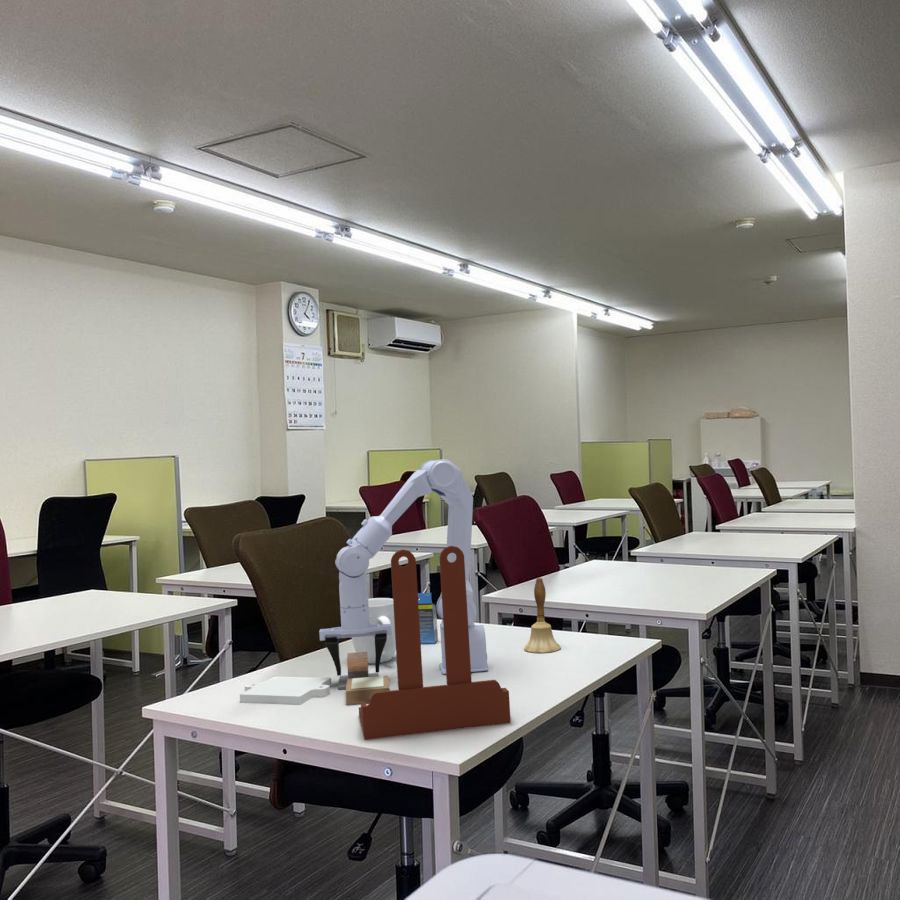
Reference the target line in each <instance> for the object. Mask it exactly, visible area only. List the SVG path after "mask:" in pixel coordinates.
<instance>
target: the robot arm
mask: <svg viewBox="0 0 900 900" xmlns="http://www.w3.org/2000/svg"><path fill="white" fill-rule="evenodd" d="M432 493H435V494H437V495H438V496H439V497H440V498H441V499H442V500H443V501H444V502H445V503H446V504H447V506H448V510H447V511H448V512H447V531H446V533H447V535H446V547H449V546H455V547H458V548H459V549H460V550H461V551H462V552H463V554H464V562H465V579H466V596H467V613H468V630H469V647H470V664H471V673H473V672H474V673H475V672H485V671H489V668H488V652H487V639H486V631H485V627H484V625H483V624H475V620H476V618H477V614H478V613H477V611H478V610H477V607H476V604H475V601H474V590H473V587H472V585H471V582H470V576H471V574H470V573H471V553H472V552H471V551H472V530H473V509H474V497H473V496H474V495H473V494H472V492H471V489H470V487H469V486H468V484H467V482H466V479H465V478H464V476H463V471H462V469H460V467H458V466H457V465H456V464H454V463H453V462H452V461H450V460H448V459H444V458H443V459H437V460H436V459H430V460H427V461H424V462H423V463H422V464H421V466H420V468H419V469H417V470H416V471H414V472H413V473H412V474H411V475H410V477H409V478H408V479H407V480H406V482H405V483H404V484H403V485H402V487H401V488H400V489H399V491H398V492H397V493H396V494H395V496H394V497H393V498H392V499H391V501H389V503H388V504H387V506H386V507H385V508H384V510H383V511H382V512H381V514H379V515H377V516H373V515H372V516H370V517H369V518H368V519H363V521H362V522H361V526H362V527H361V528H360V529H359V530H358V531H357V532H356V534H355V535H354V536H353V537H352V538H349V539H348V540H347V541H346V544H347V546H344V547H342V548H341V549H340V550H339V551H338V553H337V554H336V558H335V560H334V563H335V566H336V568H337V570H338V571H339V573H338V580H339V585H338V589H339V590H338V591H339V610H340V611H339V612H340V624H341V626H337V627H330V628H320V629H319V633H318V634H319V641H320V642H321V641H322V642H323V641H325V643H324V644H325V647H326V648H327V651H328V652H329V654H330V656H331V658H332V660H333V663H334V666H335V670H336V675H337V677H340V676H342V666H341V665H342V664H341V659H340V658H341V657H340V644H339V643H340V641H339V639H347V638H349V639H350V638H351V639H352V637H364V636H375V654H376V660H375V663H374V664H375V665H374V667H375V670H374V671H375V673H380V664H381V663H380V659H381V655H382V652H383V649H384V646H385V643H386V641H387V635H392V625H391V624H370V622H369V605H368V599H369V593H368V592H369V591H368V582H367V571H368V569H369V565H370V559H373V558H374V557H375V556H376V554H377V553H378V552H379V551H380V550H381V549H382V547H383V546H384V545H385V543H387V542H388V540H390V538H391V537H392V535H393V531H392V529H393V525H394V524H395V522H397V521H398V519H399V518H400V517H401V516H402V515H403V514H404V513H405V512H406V511H407V510H408V509H409V508H410V506H411V505H412V504H413V503H414V502H415V501H416V500H417V499H418V498H420V497H423V496H427V495H429V494H432ZM447 559H448V561H449V562H454V561H455V560H456V554H455V553H450V554H449V555H448V556H447ZM435 607H436V613H437V615H438V616H439V617H440V618H441V621H440V624H439V628H440V629H439V630H440V644H441V645H440V646H441V662H440V663H439V665H438V666H439V668H440V671H441V674H442V675H446V660H445V643H444V626H443V609H442V592H440V596H439V597H438V599H437V602H436V606H435ZM363 633H364V634H363Z"/></svg>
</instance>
